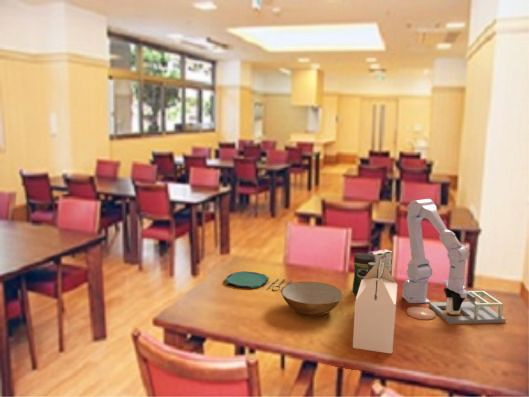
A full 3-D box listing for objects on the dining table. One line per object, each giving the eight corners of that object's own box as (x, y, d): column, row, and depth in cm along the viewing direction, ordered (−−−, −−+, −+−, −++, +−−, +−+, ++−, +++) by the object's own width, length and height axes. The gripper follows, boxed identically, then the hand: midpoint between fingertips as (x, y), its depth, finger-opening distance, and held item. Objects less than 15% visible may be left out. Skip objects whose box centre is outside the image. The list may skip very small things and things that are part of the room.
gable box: (392, 354, 163) (398, 274, 158) (352, 348, 167) (357, 270, 162) (394, 327, 184) (399, 256, 179) (358, 322, 188) (363, 252, 183)
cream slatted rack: (475, 317, 191) (476, 299, 190) (457, 303, 205) (458, 287, 203) (501, 316, 192) (503, 299, 191) (482, 302, 206) (483, 286, 205)
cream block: (450, 314, 195) (451, 301, 194) (445, 310, 199) (447, 297, 198) (460, 314, 196) (461, 301, 195) (455, 310, 199) (456, 297, 199)
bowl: (349, 305, 204) (350, 287, 203) (331, 329, 181) (332, 308, 180) (293, 295, 214) (294, 277, 213) (270, 316, 192) (270, 296, 190)
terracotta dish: (413, 320, 191) (413, 318, 191) (402, 308, 202) (402, 307, 202) (440, 319, 192) (440, 317, 192) (428, 308, 203) (428, 306, 203)
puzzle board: (449, 324, 188) (449, 320, 188) (428, 305, 206) (429, 302, 205) (505, 322, 190) (505, 319, 190) (480, 304, 208) (480, 301, 208)
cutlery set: (236, 273, 242) (236, 268, 242) (293, 282, 232) (294, 277, 232) (219, 286, 224) (219, 281, 224) (280, 297, 214) (280, 292, 214)
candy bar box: (383, 281, 234) (385, 248, 232) (390, 284, 230) (393, 251, 227) (365, 285, 229) (367, 251, 226) (372, 288, 225) (375, 254, 222)
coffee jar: (375, 292, 219) (377, 253, 216) (372, 298, 212) (375, 257, 209) (353, 289, 223) (355, 250, 220) (350, 295, 216) (352, 254, 212)
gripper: (475, 282, 188) (472, 315, 190) (456, 270, 202) (453, 301, 205) (458, 282, 187) (454, 315, 190) (440, 270, 201) (437, 301, 204)
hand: (453, 308), depth 197 cm, fingers closed on cream block, 4 cm apart
